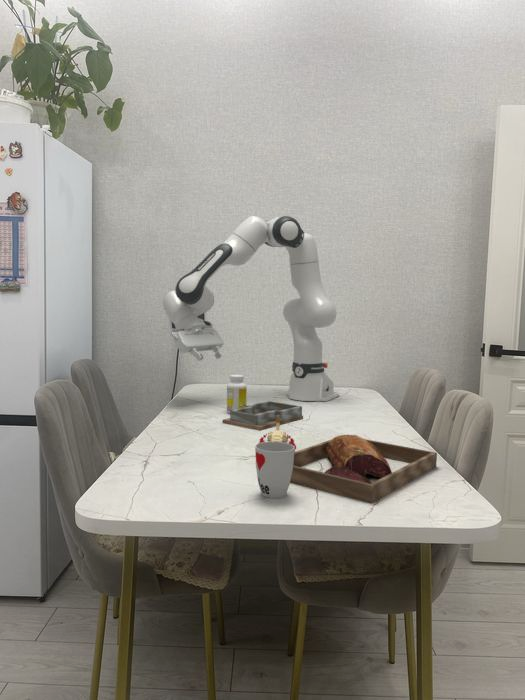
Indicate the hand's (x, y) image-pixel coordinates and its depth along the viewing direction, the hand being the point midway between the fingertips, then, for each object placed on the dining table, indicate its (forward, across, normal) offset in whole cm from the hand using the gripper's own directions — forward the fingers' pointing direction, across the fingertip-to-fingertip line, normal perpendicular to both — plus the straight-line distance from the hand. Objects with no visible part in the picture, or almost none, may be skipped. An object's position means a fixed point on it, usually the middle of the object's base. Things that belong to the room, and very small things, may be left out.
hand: (210, 358), depth 210 cm
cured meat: (+67, -32, -41) cm, 85 cm away
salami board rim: (+66, -32, -42) cm, 85 cm away
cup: (+63, -57, -38) cm, 93 cm away
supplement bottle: (+21, 0, +4) cm, 22 cm away
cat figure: (+50, -31, -24) cm, 63 cm away
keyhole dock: (+32, -4, -6) cm, 32 cm away
